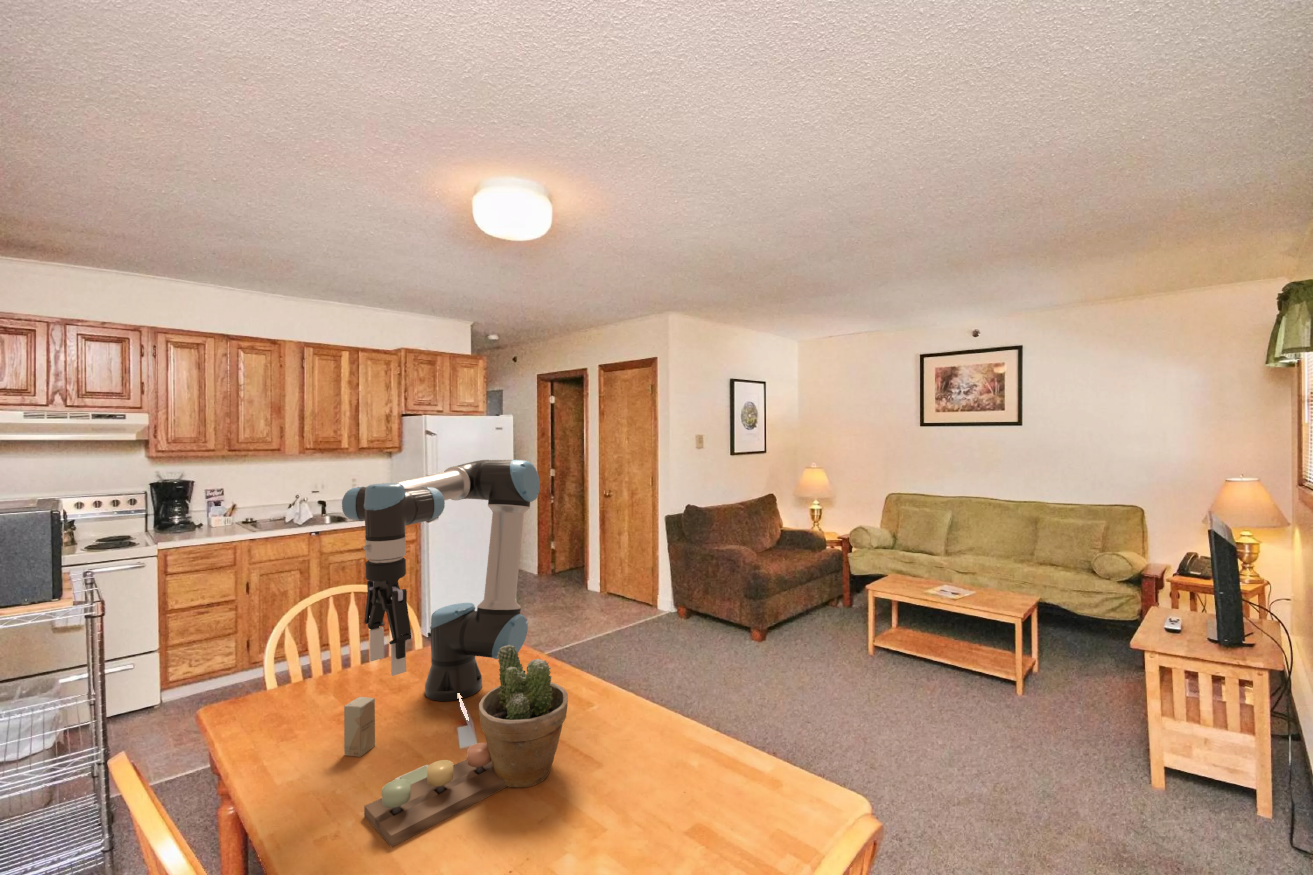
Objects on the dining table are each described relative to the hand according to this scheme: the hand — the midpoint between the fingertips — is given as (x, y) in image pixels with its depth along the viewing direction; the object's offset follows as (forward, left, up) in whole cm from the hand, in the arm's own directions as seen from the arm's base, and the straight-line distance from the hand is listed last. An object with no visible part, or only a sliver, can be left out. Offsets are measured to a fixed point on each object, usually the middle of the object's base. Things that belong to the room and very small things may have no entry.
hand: (387, 665), depth 120 cm
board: (-4, +14, -24) cm, 28 cm away
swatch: (-4, +5, -24) cm, 25 cm away
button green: (+4, +14, -22) cm, 26 cm away
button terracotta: (-13, +14, -22) cm, 29 cm away
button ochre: (-4, +14, -22) cm, 26 cm away
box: (0, -17, -24) cm, 29 cm away
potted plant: (-20, +19, -24) cm, 36 cm away
